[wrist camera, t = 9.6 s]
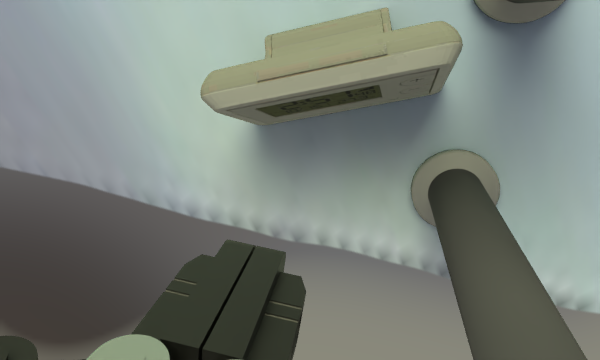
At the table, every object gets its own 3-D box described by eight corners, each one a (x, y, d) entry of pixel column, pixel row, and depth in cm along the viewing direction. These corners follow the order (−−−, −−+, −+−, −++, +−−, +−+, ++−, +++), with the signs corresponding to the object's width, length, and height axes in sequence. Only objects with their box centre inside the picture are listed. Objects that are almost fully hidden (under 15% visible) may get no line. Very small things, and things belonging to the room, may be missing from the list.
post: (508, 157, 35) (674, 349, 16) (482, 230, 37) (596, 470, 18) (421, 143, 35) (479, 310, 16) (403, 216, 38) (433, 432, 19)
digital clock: (248, 121, 37) (202, 160, 28) (240, 11, 34) (185, 11, 24) (438, 125, 35) (462, 169, 25) (451, 6, 31) (484, 4, 22)
